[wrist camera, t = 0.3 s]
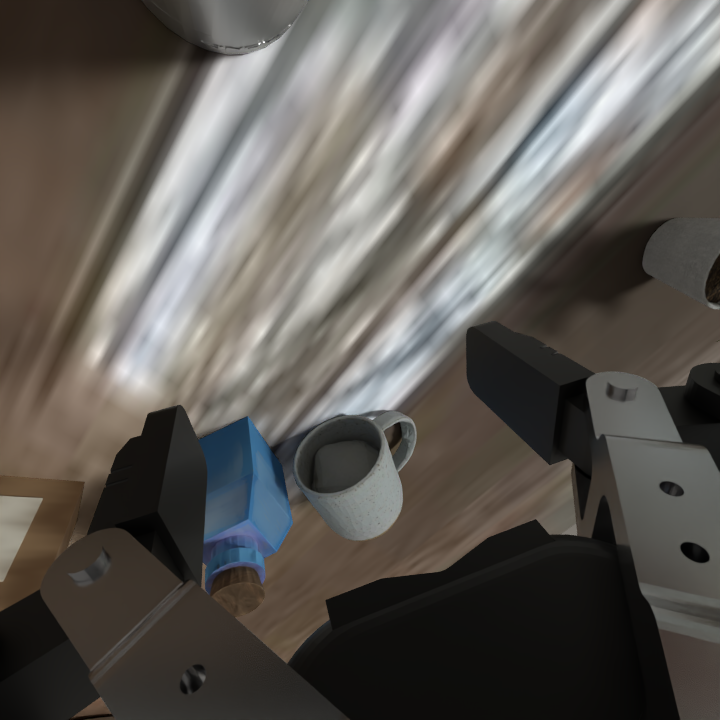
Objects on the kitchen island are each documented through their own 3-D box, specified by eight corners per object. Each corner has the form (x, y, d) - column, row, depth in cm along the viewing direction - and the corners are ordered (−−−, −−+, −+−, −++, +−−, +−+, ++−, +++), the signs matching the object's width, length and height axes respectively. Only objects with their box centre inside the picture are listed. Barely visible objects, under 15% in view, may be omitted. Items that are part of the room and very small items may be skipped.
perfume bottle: (281, 465, 35) (307, 599, 25) (215, 497, 34) (214, 647, 24) (247, 416, 31) (261, 547, 21) (174, 451, 31) (152, 603, 21)
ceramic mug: (321, 497, 38) (343, 569, 32) (284, 440, 33) (301, 512, 27) (419, 445, 39) (460, 505, 32) (395, 383, 34) (437, 439, 28)
